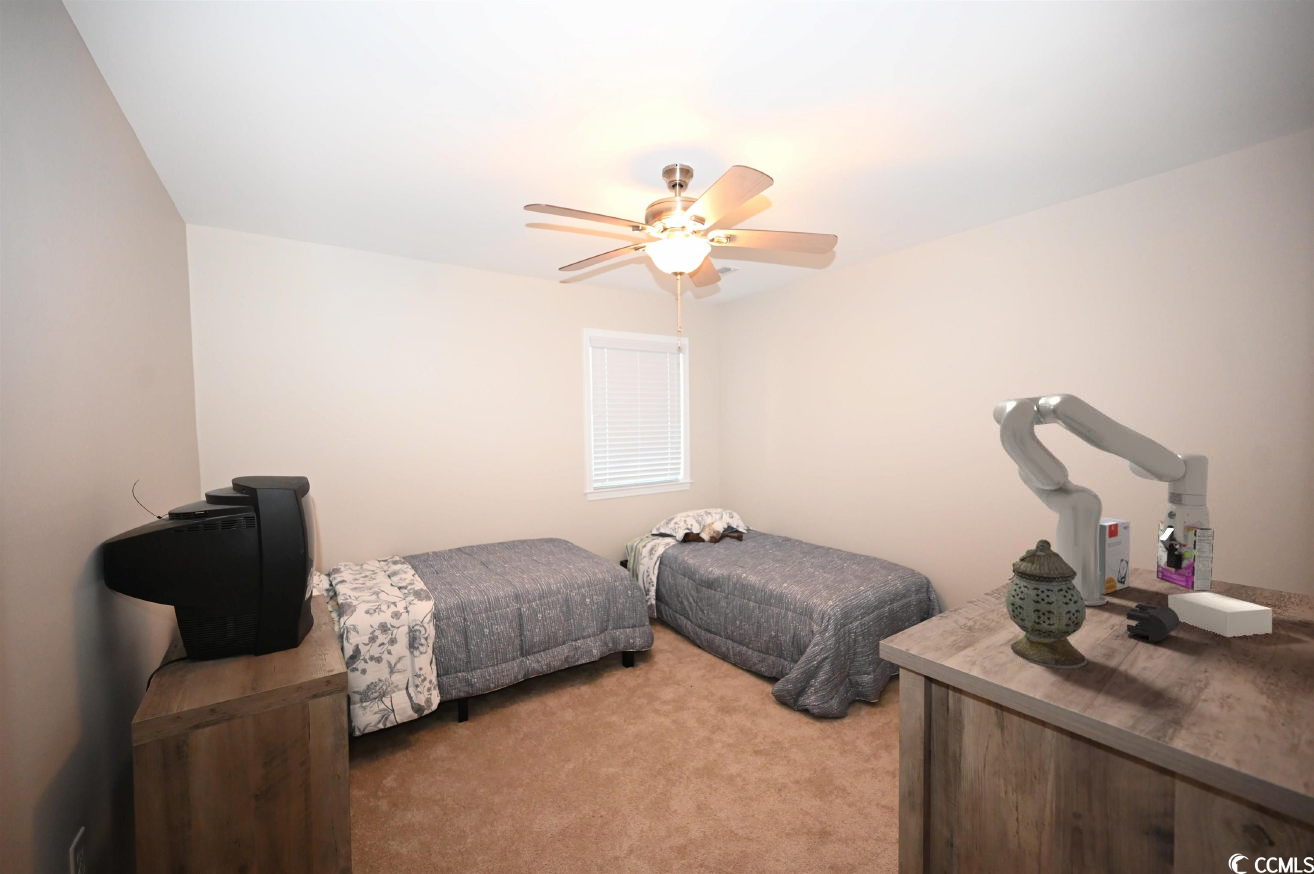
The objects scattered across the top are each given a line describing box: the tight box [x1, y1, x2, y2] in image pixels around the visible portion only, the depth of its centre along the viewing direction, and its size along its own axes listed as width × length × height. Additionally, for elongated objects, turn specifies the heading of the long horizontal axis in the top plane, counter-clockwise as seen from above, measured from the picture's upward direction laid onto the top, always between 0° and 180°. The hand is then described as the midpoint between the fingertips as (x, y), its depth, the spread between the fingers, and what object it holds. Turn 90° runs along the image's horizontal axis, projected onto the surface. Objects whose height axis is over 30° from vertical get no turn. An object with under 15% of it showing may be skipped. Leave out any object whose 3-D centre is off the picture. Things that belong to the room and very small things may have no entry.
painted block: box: [1167, 591, 1273, 638], centre depth 135 cm, size 12×13×6 cm
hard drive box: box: [1099, 516, 1131, 595], centre depth 165 cm, size 16×8×20 cm, turn 119°
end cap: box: [1126, 603, 1180, 644], centre depth 129 cm, size 10×7×7 cm
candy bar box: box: [1156, 519, 1215, 592], centre depth 149 cm, size 11×5×16 cm, turn 179°
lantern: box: [1005, 539, 1088, 670], centre depth 121 cm, size 14×14×25 cm
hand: (1183, 566), depth 149 cm, fingers closed on candy bar box, 5 cm apart
